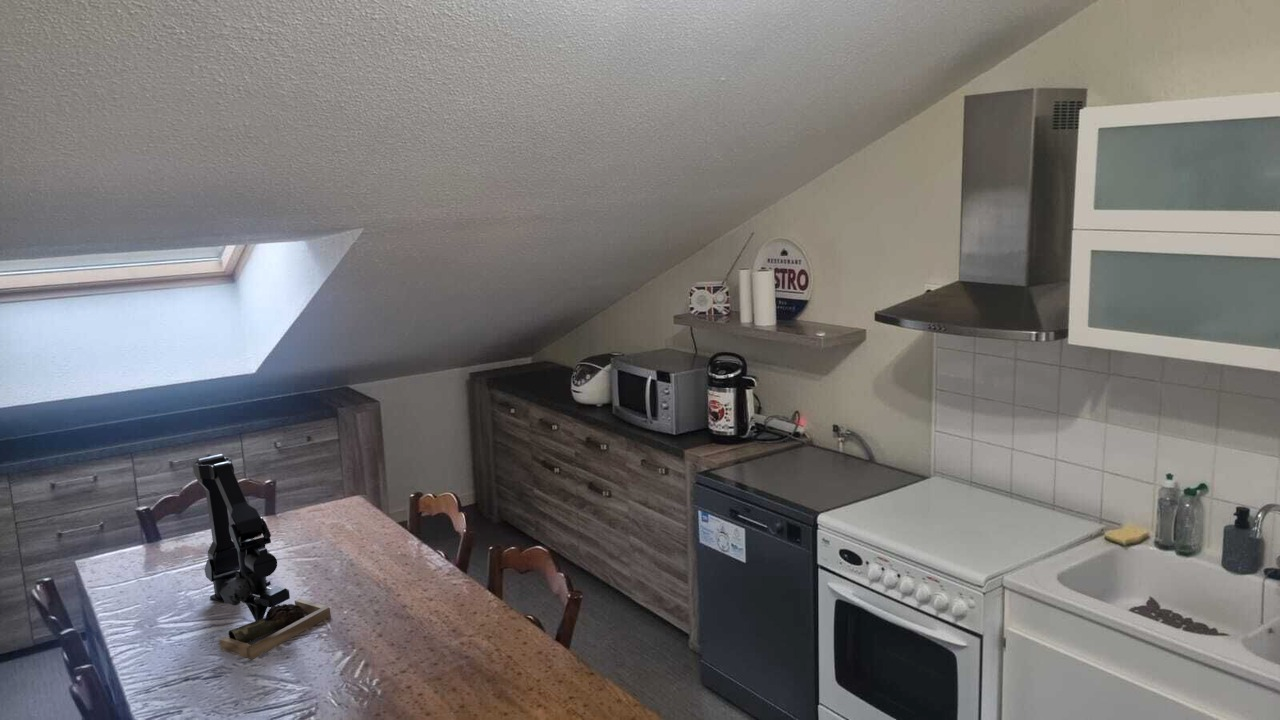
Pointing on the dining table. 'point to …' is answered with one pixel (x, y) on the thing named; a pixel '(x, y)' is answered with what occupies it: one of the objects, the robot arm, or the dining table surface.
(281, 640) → the cradle frame
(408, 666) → the dining table surface
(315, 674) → the dining table surface
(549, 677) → the dining table surface
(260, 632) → the mossy log
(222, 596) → the robot arm
